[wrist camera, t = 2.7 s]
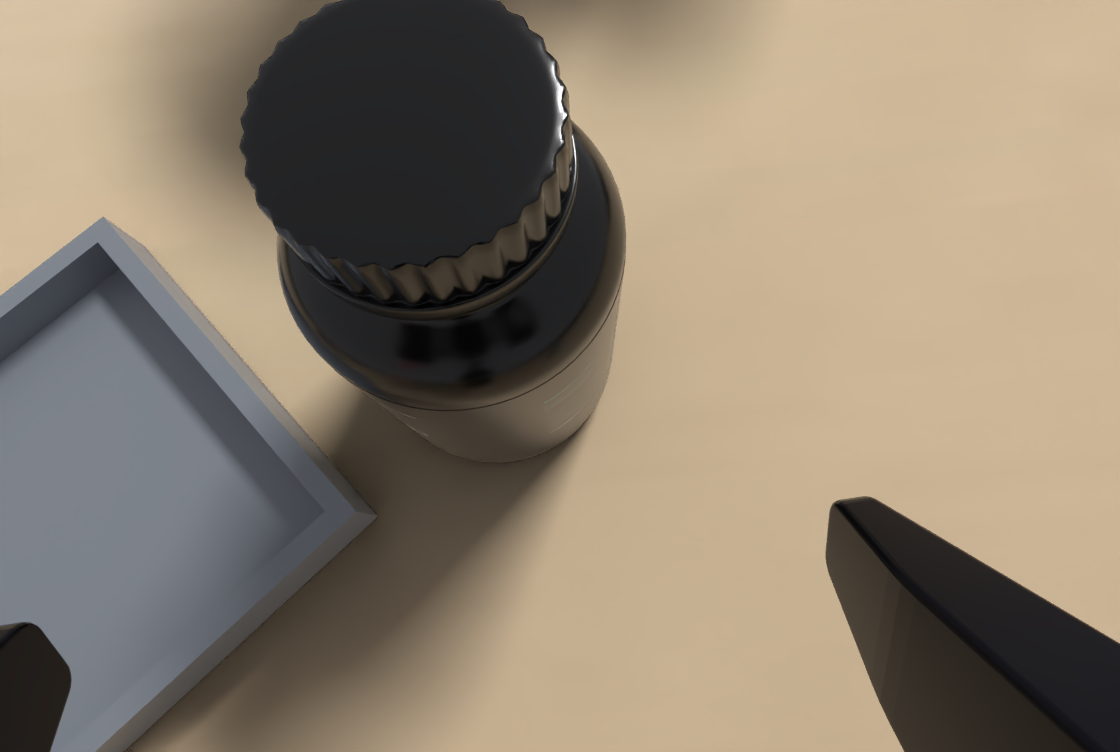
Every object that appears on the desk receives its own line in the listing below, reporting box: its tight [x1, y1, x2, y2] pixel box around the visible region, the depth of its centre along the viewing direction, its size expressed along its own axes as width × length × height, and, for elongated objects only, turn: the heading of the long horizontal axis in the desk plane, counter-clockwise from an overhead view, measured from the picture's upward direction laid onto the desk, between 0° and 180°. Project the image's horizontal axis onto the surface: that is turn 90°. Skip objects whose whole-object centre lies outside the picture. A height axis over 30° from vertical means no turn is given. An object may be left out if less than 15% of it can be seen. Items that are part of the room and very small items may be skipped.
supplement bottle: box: [239, 0, 626, 463], centre depth 16 cm, size 7×7×12 cm
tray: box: [0, 217, 378, 752], centre depth 20 cm, size 12×12×2 cm
